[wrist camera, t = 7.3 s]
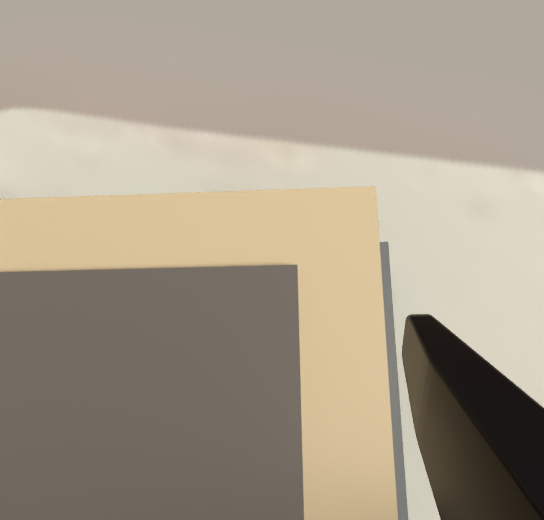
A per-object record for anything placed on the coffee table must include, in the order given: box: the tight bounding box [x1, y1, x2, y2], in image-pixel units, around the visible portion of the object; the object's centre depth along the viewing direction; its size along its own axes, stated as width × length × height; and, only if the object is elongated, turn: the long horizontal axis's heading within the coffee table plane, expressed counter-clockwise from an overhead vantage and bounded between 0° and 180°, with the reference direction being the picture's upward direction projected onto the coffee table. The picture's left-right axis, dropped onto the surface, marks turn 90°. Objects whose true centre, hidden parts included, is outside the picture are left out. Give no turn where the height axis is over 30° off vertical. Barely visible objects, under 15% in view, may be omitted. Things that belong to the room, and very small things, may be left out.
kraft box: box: [0, 186, 398, 520], centre depth 10 cm, size 5×5×13 cm
